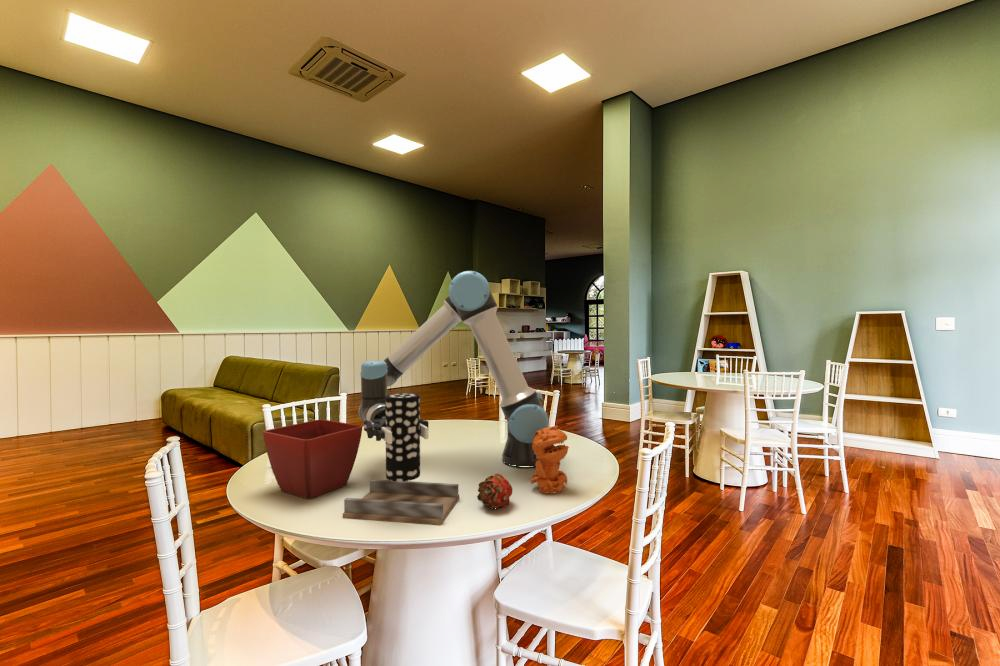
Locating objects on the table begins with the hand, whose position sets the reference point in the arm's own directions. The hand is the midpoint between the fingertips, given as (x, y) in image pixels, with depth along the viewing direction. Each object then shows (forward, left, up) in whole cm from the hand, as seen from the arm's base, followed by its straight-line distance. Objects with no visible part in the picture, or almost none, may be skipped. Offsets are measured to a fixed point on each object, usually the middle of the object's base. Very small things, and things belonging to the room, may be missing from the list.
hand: (409, 435), depth 108 cm
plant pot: (+33, -13, -19) cm, 40 cm away
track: (+3, -4, -19) cm, 19 cm away
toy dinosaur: (-32, -22, -19) cm, 43 cm away
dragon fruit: (-19, -9, -19) cm, 28 cm away
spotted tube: (+3, -4, -11) cm, 12 cm away
